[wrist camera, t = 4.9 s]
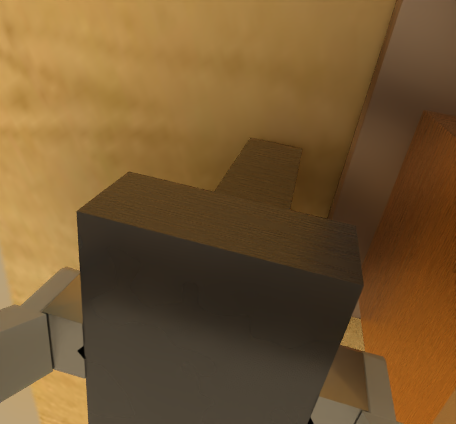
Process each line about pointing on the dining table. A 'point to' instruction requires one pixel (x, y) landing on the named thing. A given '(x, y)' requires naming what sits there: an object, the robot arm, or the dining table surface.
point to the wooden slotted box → (417, 278)
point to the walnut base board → (397, 110)
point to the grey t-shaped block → (212, 297)
